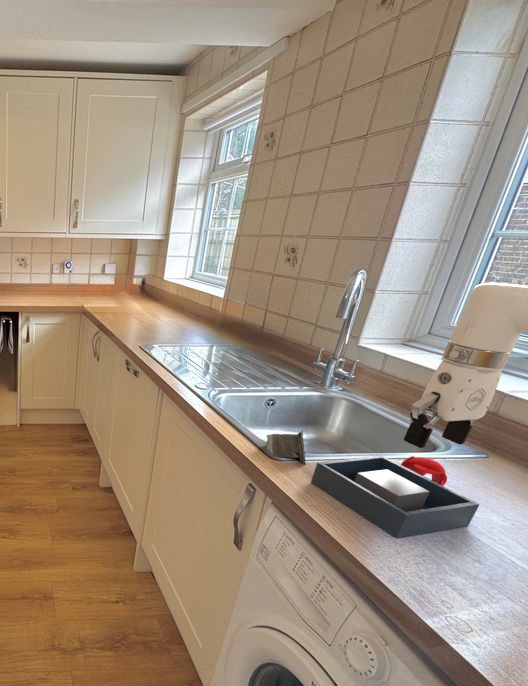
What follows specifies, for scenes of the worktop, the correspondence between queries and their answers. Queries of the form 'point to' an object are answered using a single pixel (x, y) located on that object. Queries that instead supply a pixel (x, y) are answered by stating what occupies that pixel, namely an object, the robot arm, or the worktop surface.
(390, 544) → the worktop surface
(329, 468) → the dark grey tray
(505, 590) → the worktop surface
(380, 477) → the block
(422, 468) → the red curved piece
